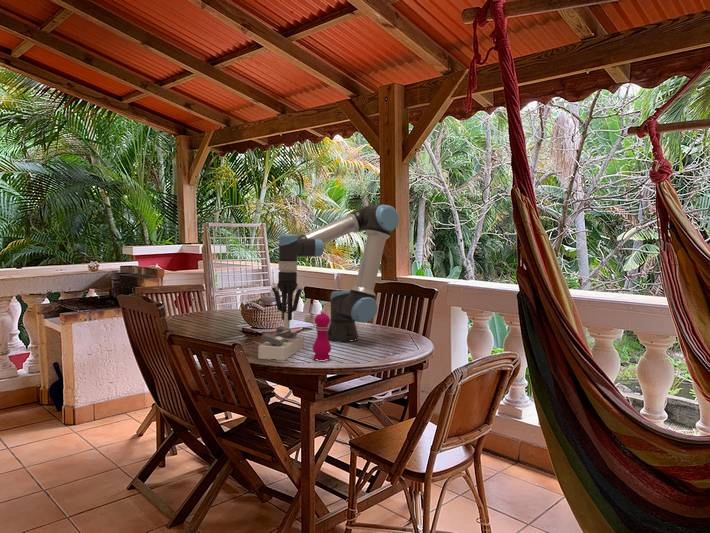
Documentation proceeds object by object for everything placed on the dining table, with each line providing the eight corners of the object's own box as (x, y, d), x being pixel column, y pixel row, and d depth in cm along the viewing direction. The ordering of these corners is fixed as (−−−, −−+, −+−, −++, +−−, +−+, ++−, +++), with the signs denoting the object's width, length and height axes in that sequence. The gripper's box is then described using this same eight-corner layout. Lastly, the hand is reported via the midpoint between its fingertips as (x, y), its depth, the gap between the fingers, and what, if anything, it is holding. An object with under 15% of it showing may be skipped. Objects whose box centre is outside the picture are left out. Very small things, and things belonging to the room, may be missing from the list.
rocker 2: (291, 334, 228) (290, 329, 228) (287, 337, 223) (286, 331, 223) (274, 338, 229) (272, 333, 229) (269, 340, 225) (268, 335, 225)
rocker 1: (283, 343, 220) (284, 338, 220) (279, 345, 215) (280, 340, 215) (265, 337, 222) (267, 331, 221) (260, 339, 217) (262, 334, 216)
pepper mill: (330, 357, 220) (331, 308, 219) (330, 362, 213) (331, 311, 211) (313, 357, 220) (313, 308, 218) (312, 361, 213) (313, 311, 211)
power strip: (308, 344, 243) (308, 331, 242) (284, 360, 214) (284, 345, 213) (284, 343, 245) (284, 330, 245) (258, 358, 216) (258, 343, 216)
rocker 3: (296, 335, 236) (297, 330, 235) (292, 338, 231) (294, 333, 230) (279, 329, 237) (281, 325, 237) (275, 332, 232) (276, 327, 232)
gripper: (269, 271, 221) (268, 328, 223) (299, 272, 218) (298, 330, 220) (276, 269, 229) (275, 325, 230) (305, 271, 226) (304, 327, 227)
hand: (286, 327), depth 225 cm, fingers closed
